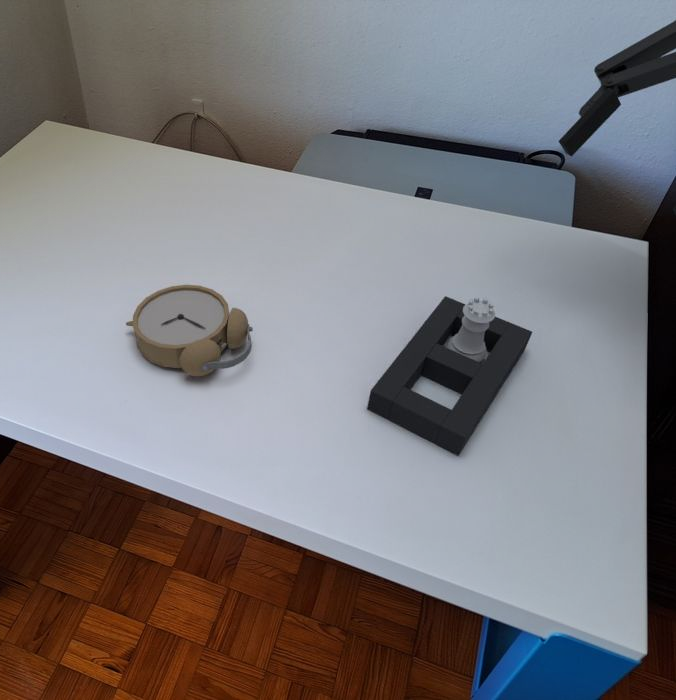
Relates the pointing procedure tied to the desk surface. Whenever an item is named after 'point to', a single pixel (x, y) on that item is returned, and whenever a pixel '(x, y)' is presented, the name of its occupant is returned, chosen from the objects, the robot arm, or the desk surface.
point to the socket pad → (447, 377)
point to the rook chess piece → (473, 330)
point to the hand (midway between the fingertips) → (617, 180)
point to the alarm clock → (189, 329)
